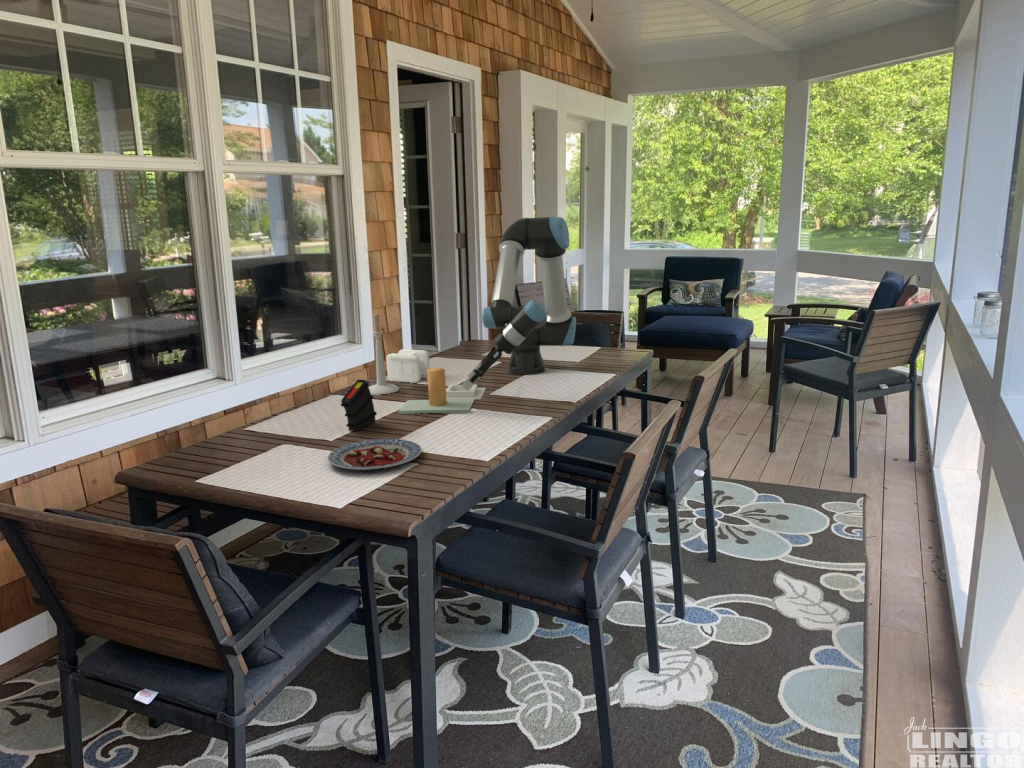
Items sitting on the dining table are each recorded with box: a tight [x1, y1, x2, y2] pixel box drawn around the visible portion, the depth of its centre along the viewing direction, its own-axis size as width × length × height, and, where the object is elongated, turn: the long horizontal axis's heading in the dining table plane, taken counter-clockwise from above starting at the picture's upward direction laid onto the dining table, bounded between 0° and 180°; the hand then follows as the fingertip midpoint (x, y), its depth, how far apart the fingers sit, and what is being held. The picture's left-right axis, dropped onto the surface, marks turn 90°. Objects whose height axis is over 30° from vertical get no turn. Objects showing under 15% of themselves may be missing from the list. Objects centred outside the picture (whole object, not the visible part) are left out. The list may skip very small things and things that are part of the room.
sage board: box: [398, 399, 476, 415], centre depth 264 cm, size 24×14×1 cm, turn 85°
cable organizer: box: [385, 348, 431, 384], centre depth 306 cm, size 15×11×12 cm
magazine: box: [340, 379, 377, 432], centre depth 244 cm, size 4×13×15 cm, turn 155°
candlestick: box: [368, 313, 400, 396], centre depth 288 cm, size 13×13×30 cm
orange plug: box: [427, 367, 447, 406], centre depth 264 cm, size 6×6×12 cm
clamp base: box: [446, 383, 487, 400], centre depth 279 cm, size 16×16×3 cm
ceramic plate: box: [327, 438, 423, 471], centre depth 213 cm, size 26×26×3 cm
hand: (467, 383), depth 263 cm, fingers open, 13 cm apart
